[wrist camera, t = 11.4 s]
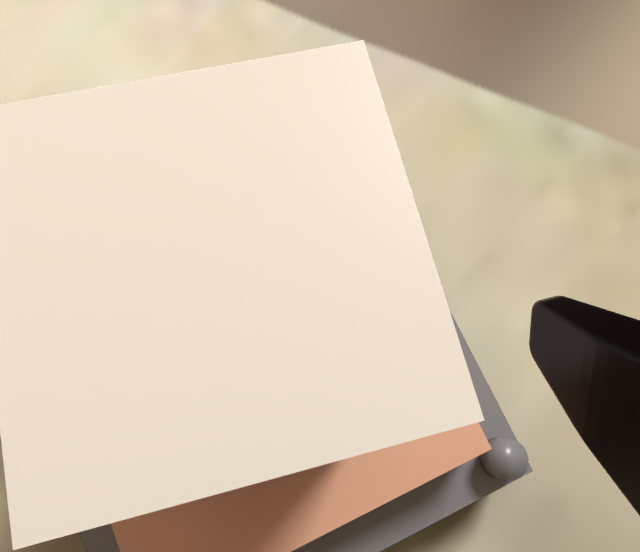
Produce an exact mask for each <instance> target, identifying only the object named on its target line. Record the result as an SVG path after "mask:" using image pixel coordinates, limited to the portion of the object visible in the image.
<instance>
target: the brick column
mask: <svg viewBox="0 0 640 552" xmlns="http://www.w3.org/2000/svg"><path fill="white" fill-rule="evenodd" d="M481 421H485V420H484V417H483V414H482V411H481V408H480V405H479V401H478V398H477V395H476V392H475V389H474V386H473V383H472V379H471V376H470V373H469V370H468V367H467V364H466V361H465V357H464V354H463V351H462V348H461V345H460V342H459V339H458V335H457V332H456V329H455V326H454V323H453V320H452V317H451V313H450V310H449V307H448V304H447V301H446V298H445V295H444V291H443V288H442V285H441V282H440V279H439V276H438V273H437V269H436V266H435V263H434V260H433V257H432V254H431V251H430V247H429V244H428V241H427V238H426V235H425V232H424V229H423V225H422V222H421V219H420V216H419V213H418V210H417V207H416V203H415V200H414V197H413V194H412V191H411V188H410V185H409V181H408V178H407V175H406V172H405V169H404V166H403V163H402V159H401V156H400V153H399V150H398V147H397V144H396V140H395V137H394V134H393V131H392V128H391V125H390V122H389V118H388V115H387V112H386V109H385V106H384V103H383V100H382V96H381V93H380V90H379V87H378V84H377V81H376V78H375V74H374V71H373V68H372V65H371V62H370V59H369V56H368V52H367V49H366V46H365V43H364V40H361V41H355V42H349V43H344V44H338V45H332V46H327V47H321V48H315V49H310V50H304V51H298V52H292V53H287V54H281V55H275V56H270V57H264V58H258V59H253V60H247V61H241V62H236V63H230V64H224V65H219V66H213V67H207V68H202V69H196V70H190V71H185V72H179V73H173V74H168V75H162V76H156V77H151V78H145V79H139V80H134V81H128V82H122V83H117V84H111V85H105V86H100V87H94V88H88V89H83V90H77V91H71V92H66V93H60V94H54V95H49V96H43V97H37V98H32V99H26V100H20V101H15V102H9V103H3V104H0V435H1V444H2V454H3V463H4V472H5V482H6V491H7V500H8V509H9V519H10V528H11V537H12V547H13V550H16V549H20V548H23V547H27V546H31V545H34V544H38V543H41V542H45V541H49V540H52V539H56V538H60V537H63V536H67V535H71V534H74V533H78V532H81V531H85V530H89V529H92V528H96V527H100V526H103V525H107V524H111V523H114V522H118V521H121V520H125V519H129V518H132V517H136V516H140V515H143V514H147V513H151V512H154V511H158V510H161V509H165V508H169V507H172V506H176V505H180V504H183V503H187V502H190V501H194V500H198V499H201V498H205V497H209V496H212V495H216V494H220V493H223V492H227V491H230V490H234V489H238V488H241V487H245V486H249V485H252V484H256V483H260V482H263V481H267V480H270V479H274V478H278V477H281V476H285V475H289V474H292V473H296V472H299V471H303V470H307V469H310V468H314V467H318V466H321V465H325V464H329V463H332V462H336V461H339V460H343V459H347V458H350V457H354V456H358V455H361V454H365V453H369V452H372V451H376V450H379V449H383V448H387V447H390V446H394V445H398V444H401V443H405V442H409V441H412V440H416V439H419V438H423V437H427V436H430V435H434V434H438V433H441V432H445V431H448V430H452V429H456V428H459V427H463V426H467V425H470V424H474V423H478V422H481Z"/></svg>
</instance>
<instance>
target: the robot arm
mask: <svg viewBox="0 0 640 552" xmlns="http://www.w3.org/2000/svg"><path fill="white" fill-rule="evenodd" d="M529 345H530V351H531V354H532V357H533V359H534V360H535V362H536V364H537V365H538V367H539V369H540V370H541V372H542V374H543V375H544V377H545V379H546V380H547V382H548V384H549V385H550V387H551V389H552V390H553V392H554V394H555V395H556V397H557V399H558V400H559V402H560V404H561V405H562V407H563V409H564V410H565V412H566V414H567V415H568V417H569V419H570V420H571V422H572V424H573V425H574V427H575V428H576V430H577V432H578V433H579V435H580V436H581V438H582V439H583V441H584V442H585V443H586V445H587V446H588V448H589V449H590V450H591V452H592V453H593V454H594V456H595V457H596V458H597V460H598V461H599V462H600V464H601V465H602V466H603V468H604V469H605V470H606V472H607V473H608V474H609V476H610V477H611V478H612V480H613V481H614V482H615V484H616V485H617V486H618V488H619V489H620V490H621V492H622V493H623V494H624V496H625V497H626V498H627V500H628V501H629V502H630V503H631V505H632V506H633V507H634V509H635V510H636V511H637V513H638V514H639V515H640V320H637V319H634V318H630V317H627V316H624V315H621V314H618V313H615V312H612V311H608V310H605V309H602V308H599V307H596V306H593V305H589V304H586V303H583V302H580V301H577V300H574V299H570V298H567V297H564V296H554V297H550V298H546V299H543V300H539V301H537V302H536V303H535V304H534V305H533V307H532V314H531V327H530V340H529Z"/></svg>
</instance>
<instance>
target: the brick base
mask: <svg viewBox="0 0 640 552" xmlns="http://www.w3.org/2000/svg"><path fill="white" fill-rule="evenodd" d="M450 313H451V312H450ZM451 317H452V320H453V323H454V326H455V329H456V332H457V335H458V339H459V342H460V345H461V348H462V351H463V354H464V357H465V361H466V364H467V367H468V370H469V373H470V376H471V379H472V383H473V386H474V389H475V392H476V395H477V398H478V401H479V405H480V408H481V411H482V414H483V417H484V420H485V421H481V422H478V423H474V424H470V425H467V426H463V427H459V428H456V429H452V430H448V431H445V432H441V433H438V434H434V435H430V436H427V437H423V438H419V439H416V440H412V441H409V442H405V443H401V444H398V445H394V446H390V447H387V448H383V449H379V450H376V451H372V452H369V453H365V454H361V455H358V456H354V457H350V458H347V459H343V460H339V461H336V462H332V463H329V464H325V465H321V466H318V467H314V468H310V469H307V470H303V471H299V472H296V473H292V474H289V475H285V476H281V477H278V478H274V479H270V480H267V481H263V482H260V483H256V484H252V485H249V486H245V487H241V488H238V489H234V490H230V491H227V492H223V493H220V494H216V495H212V496H209V497H205V498H201V499H198V500H194V501H190V502H187V503H183V504H180V505H176V506H172V507H169V508H165V509H161V510H158V511H154V512H151V513H147V514H143V515H140V516H136V517H132V518H129V519H125V520H121V521H118V522H114V523H111V524H107V525H103V526H100V527H96V528H92V529H89V530H85V531H81V532H80V534H81V537H82V540H83V543H84V546H85V549H86V552H380V551H382V550H384V549H386V548H388V547H390V546H391V545H393V544H395V543H397V542H399V541H401V540H403V539H405V538H407V537H409V536H410V535H412V534H414V533H416V532H418V531H420V530H422V529H424V528H426V527H428V526H429V525H431V524H433V523H435V522H437V521H439V520H441V519H443V518H445V517H447V516H448V515H450V514H452V513H454V512H456V511H458V510H460V509H462V508H464V507H466V506H467V505H469V504H471V503H473V502H475V501H477V500H479V499H481V498H483V497H485V496H486V495H488V494H490V493H492V492H494V491H496V490H498V489H500V488H502V487H504V486H505V485H507V484H509V483H511V482H513V481H515V480H517V479H519V478H521V477H522V476H524V475H526V474H528V473H530V472H532V471H533V470H532V468H531V466H530V465H529V463H528V455H527V452H526V450H525V449H524V447H523V446H522V445H521V444H520V443H519V442H518V441H517V439H516V437H515V436H514V434H513V432H512V430H511V428H510V426H509V424H508V422H507V420H506V418H505V416H504V414H503V412H502V410H501V408H500V407H499V405H498V403H497V401H496V399H495V397H494V395H493V393H492V391H491V389H490V387H489V385H488V383H487V381H486V379H485V378H484V376H483V374H482V372H481V370H480V368H479V366H478V364H477V362H476V360H475V358H474V356H473V354H472V352H471V350H470V349H469V347H468V345H467V343H466V341H465V339H464V337H463V335H462V333H461V331H460V329H459V327H458V325H457V323H456V321H455V320H454V318H453V316H452V314H451Z"/></svg>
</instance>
